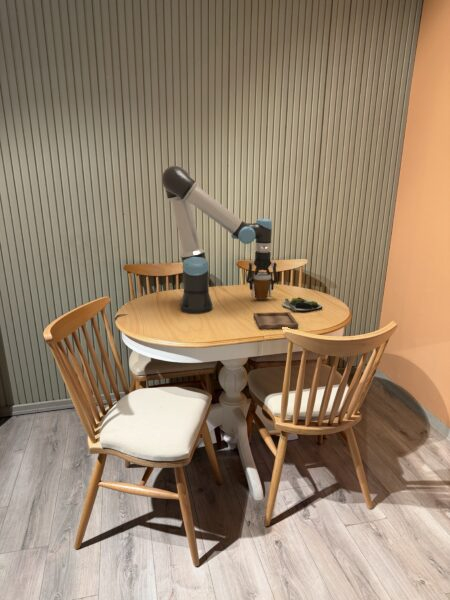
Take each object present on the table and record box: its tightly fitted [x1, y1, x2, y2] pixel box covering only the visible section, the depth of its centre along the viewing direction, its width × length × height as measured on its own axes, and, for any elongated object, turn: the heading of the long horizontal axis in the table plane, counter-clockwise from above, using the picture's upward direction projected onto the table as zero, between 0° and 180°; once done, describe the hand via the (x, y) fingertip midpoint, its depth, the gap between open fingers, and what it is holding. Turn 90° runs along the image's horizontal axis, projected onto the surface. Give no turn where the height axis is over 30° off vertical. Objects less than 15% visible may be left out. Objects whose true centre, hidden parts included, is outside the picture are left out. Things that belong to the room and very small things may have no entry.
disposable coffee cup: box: [251, 271, 273, 300], centre depth 208 cm, size 10×10×12 cm
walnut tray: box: [253, 311, 299, 330], centre depth 176 cm, size 16×16×2 cm
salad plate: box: [281, 296, 323, 314], centre depth 198 cm, size 19×18×5 cm
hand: (261, 296), depth 209 cm, fingers closed on disposable coffee cup, 8 cm apart
